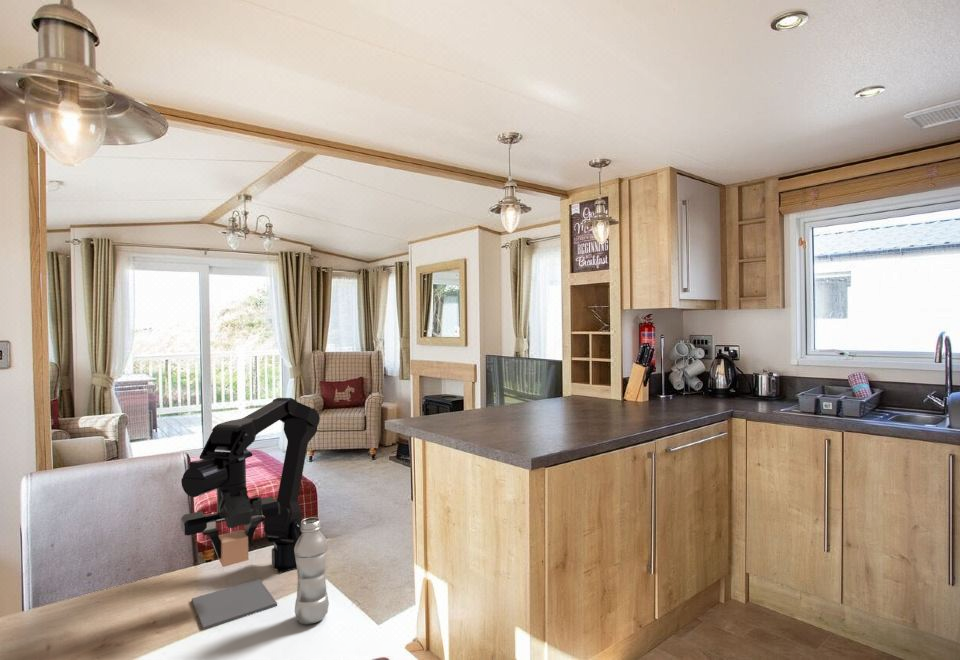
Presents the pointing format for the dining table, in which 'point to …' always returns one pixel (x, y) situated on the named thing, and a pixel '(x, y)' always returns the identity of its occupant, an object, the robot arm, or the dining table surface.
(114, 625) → the dining table surface
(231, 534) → the peach block
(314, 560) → the plastic bottle
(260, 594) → the charcoal mat
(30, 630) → the dining table surface
